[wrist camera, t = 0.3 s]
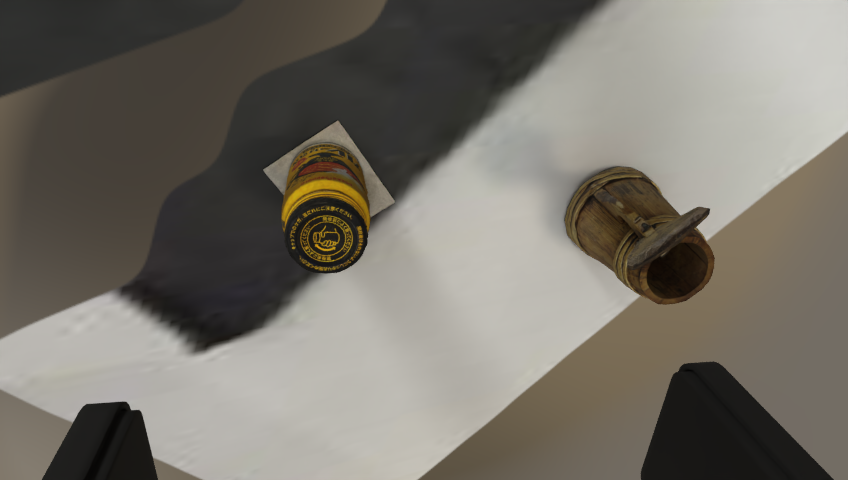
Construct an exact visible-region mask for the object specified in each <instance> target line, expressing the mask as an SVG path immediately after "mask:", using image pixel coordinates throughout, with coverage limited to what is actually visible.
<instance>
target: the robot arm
mask: <svg viewBox="0 0 848 480" xmlns="http://www.w3.org/2000/svg"><path fill="white" fill-rule="evenodd" d="M42 480H158V478H157V474H156V470H155V465H154V461H153V457H152V453H151V449H150V445H149V441H148V436H147V432H146V428H145V424H144V420H143V416H142V413H141V411H140V410H131V409H130V406H129V404H128V403H127V402H111V403H96V404H86V405H85V406H83V407H82V409H81V410H80V412H79V413H78V415H77V417H76V419H75V420H74V422H73V424H72V426H71V428H70V430H69V432H68V433H67V435H66V437H65V439H64V441H63V442H62V444H61V446H60V448H59V449H58V451H57V453H56V455H55V457H54V459H53V461H52V462H51V464H50V466H49V468H48V469H47V471H46V473H45V475H44V477H43V479H42ZM641 480H834V479H833V478H831V476H830V475H829V474H827V472H826V471H825V470H824V469H823V468H822V467H821V466H820V465H819V464H818V463H817V462H816V461H815V460H814V459H813V458H812V457H811V456H810V455H809V454H808V453H807V452H806V451H805V450H804V449H803V448H802V447H801V446H800V445H799V444H798V443H797V442H796V441H795V440H794V439H793V438H792V437H791V435H790V434H788V433H787V431H785V429H784V428H783V427H782V426H781V425H780V424H779V423H778V422H777V421H776V420H775V419H774V418H773V417H772V416H771V415H770V414H769V413H768V412H767V411H766V410H765V409H764V408H763V407H762V406H761V405H760V404H759V403H758V402H757V401H756V400H755V399H754V398H753V397H752V396H751V395H750V394H749V393H748V392H747V391H746V390H745V388H744V387H743V386H742V385H741V384H739V382H738V381H737V380H736V379H735V378H734V377H733V376H732V375H731V374H730V373H729V372H728V371H727V370H726V369H725V368H724V367H723V366H722V365H720V364H719V363H717V362H700V363H688V364H683V365H682V366H681V367H680V369H679V371H678V372H676V373H675V374H673V377H672V379H671V382H670V385H669V388H668V391H667V394H666V397H665V400H664V403H663V406H662V409H661V412H660V415H659V418H658V421H657V424H656V427H655V430H654V433H653V436H652V440H651V443H650V446H649V449H648V452H647V455H646V458H645V461H644V464H643V467H642V471H641Z"/></svg>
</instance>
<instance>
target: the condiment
mask: <svg viewBox="0 0 848 480" xmlns="http://www.w3.org/2000/svg"><path fill="white" fill-rule="evenodd" d="M263 171H264V172H265V173H266V175H267V176H268V177H269V178H270V179H271V180H272V182H273V183H274V184H275V185H276V186H277V188H278V189H279V190H280V191H281V193H282V194H283V195H284V201H283V205H282V228H283V230H284V237H285V244H286V247H287V249H288V252H289V254H290V256H291V257H292V258H293V259H294V260H295V261H296V262H297V263H298V264H299V265H300V266H301V267H303V268H304V269H306V270H308V271H311V272H314V273H337V272H341V271H343V270H345V269H347V268H349V267H350V266H352V265H353V264H355V263H356V262H357V261H358V260H359V259H360V257H361V256H362V254H363V252H364V250H365V247H366V246H367V238H368V230H369V225H370V221H371V217H372V216H373V215H375V214H377V213H378V212H380V211H381V210H383V209H385V208H386V207H388V206H390V205H391V204H393V203H394V202H395V201H394V199H393V198H392V197H391V195H390V194H389V192H388V191H387V189H386V188H385V187H384V185H383V184H382V182H381V181H380V180H379V178H378V177H377V175H376V174H375V172H374V171H373V170H372V168H371V167H370V165H369V164H368V162H367V161H366V159H365V158H364V156H363V155H362V154H361V152H360V151H359V149H358V148H357V146H356V145H355V144H354V142H353V141H352V139H351V138H350V137H349V135H348V134H347V132H346V131H345V129H344V128H343V127H342V125H341V124H340V122H339V121H336V122H335V123H333V124H332V125H330V126H329V127H327V128H325V129H324V130H322V131H321V132H319V133H318V134H316V135H315V136H313V137H312V138H310V139H309V140H307V141H305V142H304V143H302V144H301V145H299V146H298V147H296V148H295V149H293V150H292V151H290V152H289V153H287V154H286V155H284V156H283V157H281V158H280V159H279V160H277V161H276V162H274V163H273V164H271V165H270V166H268V167H267V168H265V169H263Z"/></svg>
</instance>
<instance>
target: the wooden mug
mask: <svg viewBox="0 0 848 480" xmlns="http://www.w3.org/2000/svg"><path fill="white" fill-rule="evenodd" d="M709 212H710V209H709V208H703V207H697V208H695V209H693V210H691V211H689V212H687V213H685V214H684V215H682V216H680V215H679V213H678V212H677V211H676V210H675V209H674V208H673V207H672V206H671V205H670V204H669V203H668V202H667V200H666V199H665V198H664V197H663V196H662V193H661V191H660V190H659V188H658V187H657V185H656V184H655V183H653V182H652V181H651V180H650V179H649V178H648V177H647V176H646V175H644V174H643V173H642V172H640V171H637V170H635V169H633V168H629V167H615V168H611V169H608V170H604V171H602V172H601V173H599V174H598V175H596V176H594V177H593V178H591V179H590V180H588V181H587V182H585V183H584V184H583V185H582V186H581V187H580V188H579V190H578V191H577V192H576V194H575V195H574V196H573V199H572V201H571V203H570V205H569V207H568V209H567V213H566V217H565V224H566V230H567V235H568V237H569V238H570V239H571V240H572V241H573V242H574V243H575V244H576V245H577V246H578V247H579V248H580V249H581V250H582V251H584V252H585V253H586V254H587V255H589V256H590V257H592V258H594V259H596V260H598V261H600V262H601V263H602V264H604V265H605V266H607V267H608V268H609V269H611V270H612V271H613V272H615V274H616V276H617V278H618V279H619V280H620V281H621V282H622V283H624V284H625V285H626V286H627V287H629V288H630V289H631V290H633V291H634V292H636V293H637V294H639V295H641V296H643V297H645V298H649V299H650V300H652V301H654V302H655V303H657V304H675V303H679V302H683V301H686V300H688V299H689V298H690V297H692V296H693V295H695V294H696V293H697V292H699V291H700V290H702V289H703V288H704V286H705V285H706V284H707V283H708V282H709V280H710V278H711V276H712V273H713V269H714V259H715V258H714V255H713V252H712V250H711V248H710V246H709V245H708V244H707V242H706V240H705V238H704V236H703V234H702V233H701V232H700V231H699V230H698V229H697V228H696V227H697V226H698V225H699V224H700V223H701V222H702V221H703V220H704V219H705V218H707V216H708V215H709Z"/></svg>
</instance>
